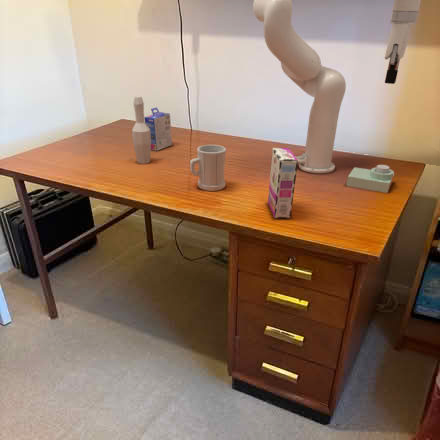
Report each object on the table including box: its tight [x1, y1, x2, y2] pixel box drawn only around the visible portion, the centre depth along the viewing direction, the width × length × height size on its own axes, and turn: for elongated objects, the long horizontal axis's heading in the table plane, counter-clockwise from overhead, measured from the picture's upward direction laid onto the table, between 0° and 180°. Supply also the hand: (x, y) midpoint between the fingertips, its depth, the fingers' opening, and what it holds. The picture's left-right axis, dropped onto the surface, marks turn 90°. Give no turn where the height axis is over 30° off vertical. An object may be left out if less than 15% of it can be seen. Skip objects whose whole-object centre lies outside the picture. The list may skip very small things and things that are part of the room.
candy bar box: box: [267, 147, 299, 219], centre depth 120 cm, size 11×5×16 cm, turn 5°
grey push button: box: [375, 164, 391, 173], centre depth 139 cm, size 4×4×2 cm
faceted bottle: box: [131, 95, 152, 165], centre depth 153 cm, size 6×6×22 cm
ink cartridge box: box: [144, 107, 173, 152], centre depth 170 cm, size 10×6×14 cm, turn 148°
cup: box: [189, 144, 227, 192], centre depth 136 cm, size 10×9×12 cm
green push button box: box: [345, 166, 395, 194], centre depth 141 cm, size 13×10×5 cm
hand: (389, 83), depth 145 cm, fingers closed
